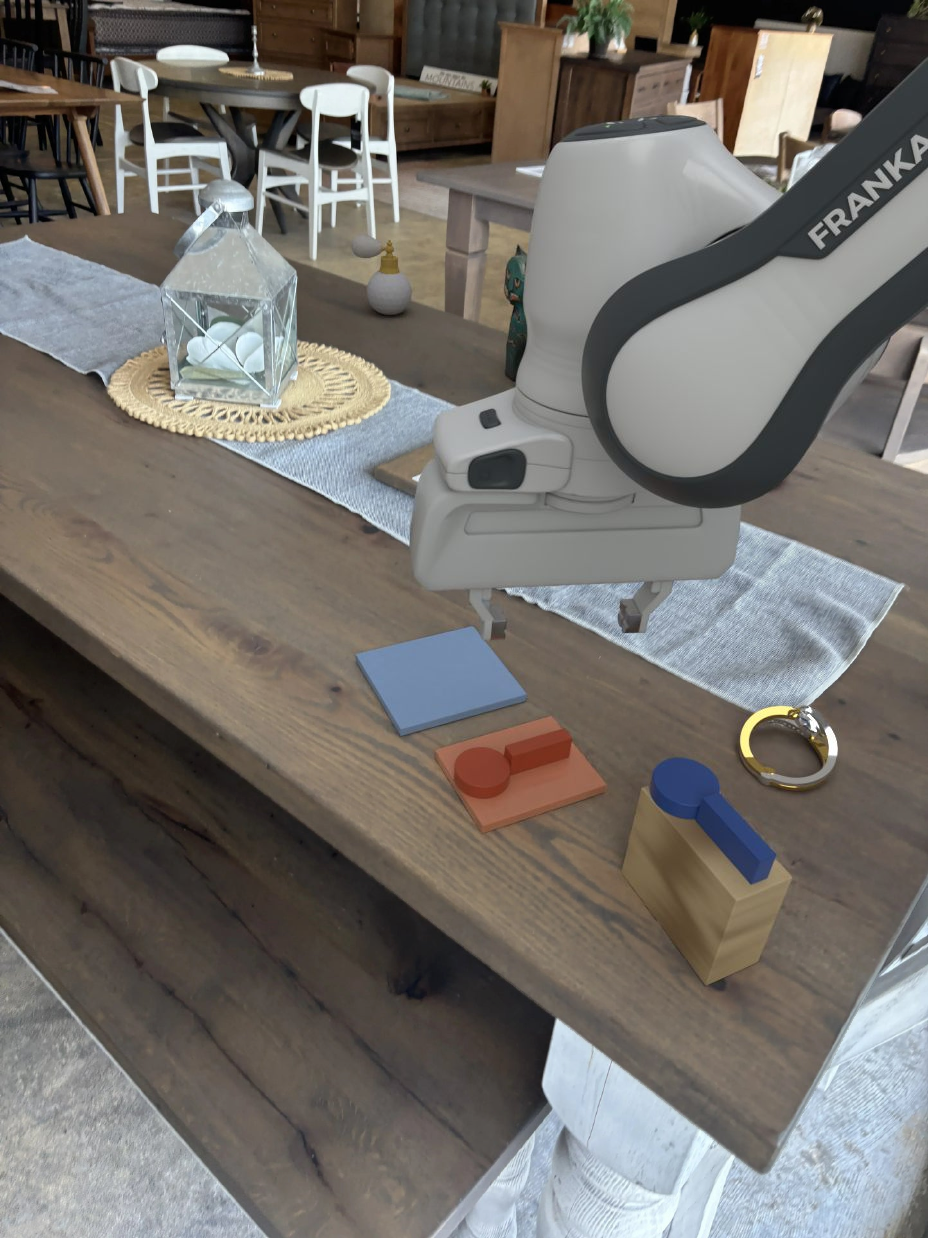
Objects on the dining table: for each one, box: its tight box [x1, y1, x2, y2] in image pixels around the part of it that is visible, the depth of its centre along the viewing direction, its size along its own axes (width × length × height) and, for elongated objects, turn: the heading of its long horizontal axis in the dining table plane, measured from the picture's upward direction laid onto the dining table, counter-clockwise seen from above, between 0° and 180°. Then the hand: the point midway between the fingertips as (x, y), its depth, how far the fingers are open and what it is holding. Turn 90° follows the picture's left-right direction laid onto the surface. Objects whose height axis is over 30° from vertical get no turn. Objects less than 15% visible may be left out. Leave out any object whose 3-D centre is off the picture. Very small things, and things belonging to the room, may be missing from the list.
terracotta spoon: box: [454, 727, 573, 799], centre depth 65 cm, size 9×4×2 cm, turn 115°
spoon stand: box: [621, 784, 793, 986], centre depth 55 cm, size 9×4×8 cm, turn 26°
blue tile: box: [355, 625, 528, 737], centre depth 75 cm, size 10×11×1 cm
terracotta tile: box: [434, 715, 607, 834], centre depth 66 cm, size 8×10×1 cm
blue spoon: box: [649, 757, 777, 885], centre depth 52 cm, size 9×4×2 cm, turn 26°
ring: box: [738, 704, 838, 792], centre depth 69 cm, size 7×3×8 cm
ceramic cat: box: [503, 244, 527, 382], centre depth 121 cm, size 20×6×20 cm, turn 20°
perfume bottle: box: [350, 234, 413, 316], centre depth 149 cm, size 8×10×12 cm
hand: (561, 631), depth 60 cm, fingers open, 8 cm apart
